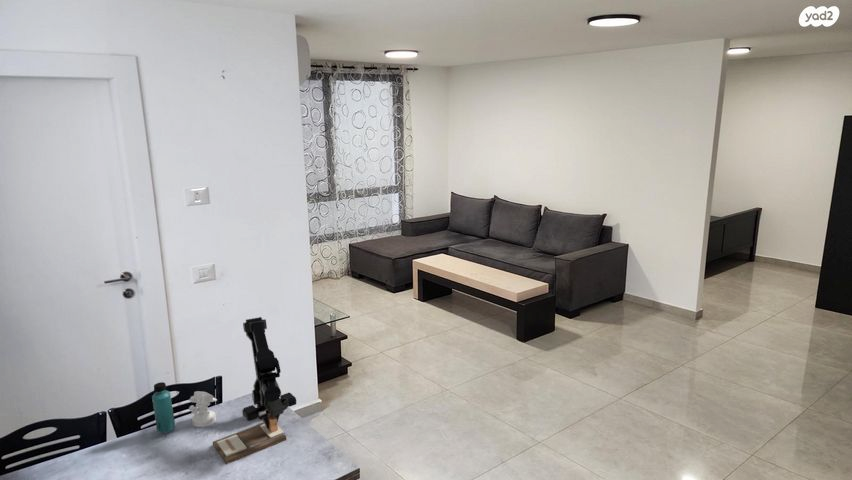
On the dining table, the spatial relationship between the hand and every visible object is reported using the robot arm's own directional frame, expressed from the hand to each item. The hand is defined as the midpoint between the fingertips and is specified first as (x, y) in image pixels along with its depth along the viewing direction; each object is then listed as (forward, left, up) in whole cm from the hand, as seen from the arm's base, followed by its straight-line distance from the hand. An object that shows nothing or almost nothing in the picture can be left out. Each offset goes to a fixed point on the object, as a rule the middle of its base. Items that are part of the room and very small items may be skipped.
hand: (271, 426), depth 199 cm
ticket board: (0, -9, -3) cm, 10 cm away
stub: (0, 0, -1) cm, 1 cm away
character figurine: (-26, -16, -3) cm, 31 cm away
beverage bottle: (-27, -30, -3) cm, 41 cm away
